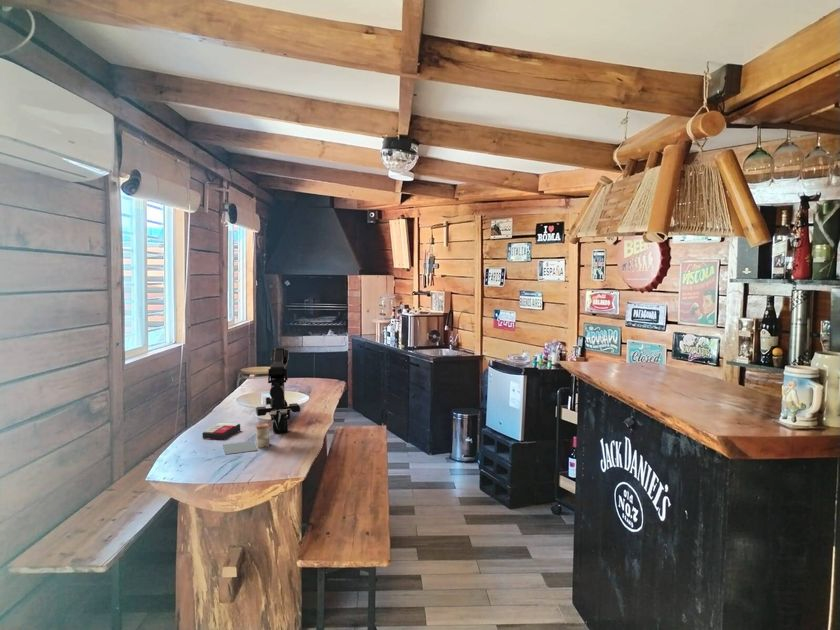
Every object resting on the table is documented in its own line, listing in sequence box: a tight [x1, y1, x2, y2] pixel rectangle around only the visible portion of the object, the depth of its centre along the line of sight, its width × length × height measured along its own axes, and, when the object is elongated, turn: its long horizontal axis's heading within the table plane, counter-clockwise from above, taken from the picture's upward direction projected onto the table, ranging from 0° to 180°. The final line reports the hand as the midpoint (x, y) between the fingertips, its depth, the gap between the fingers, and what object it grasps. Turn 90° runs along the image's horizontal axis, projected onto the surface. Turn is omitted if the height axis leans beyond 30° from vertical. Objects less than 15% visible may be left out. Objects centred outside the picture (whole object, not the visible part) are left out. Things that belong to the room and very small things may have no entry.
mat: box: [222, 440, 259, 455], centre depth 232 cm, size 13×14×1 cm
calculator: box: [202, 422, 241, 441], centre depth 251 cm, size 11×4×15 cm
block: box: [255, 422, 270, 448], centre depth 235 cm, size 5×5×9 cm
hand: (278, 428), depth 238 cm, fingers closed
